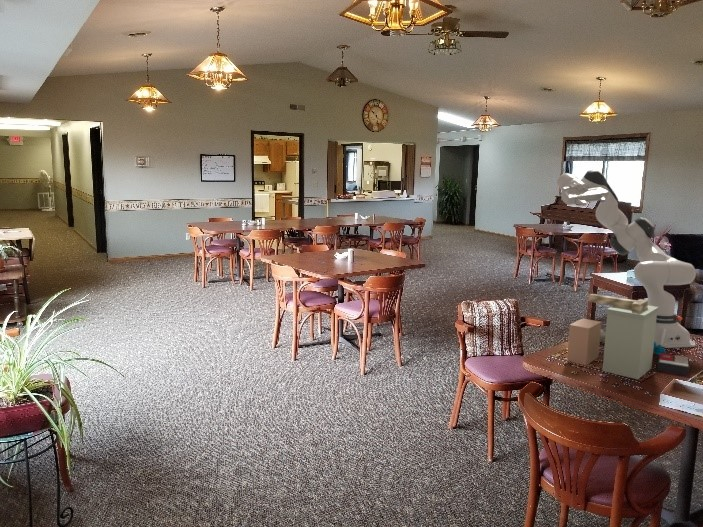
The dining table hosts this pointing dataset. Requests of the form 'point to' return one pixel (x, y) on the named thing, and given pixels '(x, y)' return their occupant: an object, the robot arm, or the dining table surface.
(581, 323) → the light brown box
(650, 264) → the robot arm
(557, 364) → the dining table surface
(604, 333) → the ceramic sculpture
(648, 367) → the tall pale green box
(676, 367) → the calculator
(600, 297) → the wooden key
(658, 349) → the gear
